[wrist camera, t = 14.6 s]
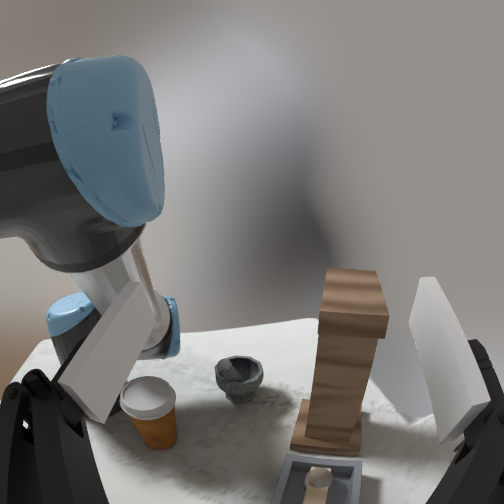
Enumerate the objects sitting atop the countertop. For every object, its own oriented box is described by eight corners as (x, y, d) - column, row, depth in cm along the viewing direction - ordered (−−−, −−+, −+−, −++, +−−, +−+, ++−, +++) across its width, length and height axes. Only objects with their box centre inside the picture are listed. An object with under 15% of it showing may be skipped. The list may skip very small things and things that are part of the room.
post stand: (357, 464, 36) (405, 316, 29) (287, 457, 40) (302, 309, 32) (359, 404, 51) (387, 271, 44) (302, 399, 55) (315, 266, 47)
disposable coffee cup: (195, 431, 46) (185, 385, 43) (167, 464, 37) (151, 421, 34) (154, 413, 49) (141, 368, 46) (125, 442, 41) (106, 397, 38)
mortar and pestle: (232, 375, 63) (230, 331, 60) (269, 386, 59) (271, 341, 56) (204, 403, 54) (198, 358, 51) (245, 419, 49) (243, 373, 46)
